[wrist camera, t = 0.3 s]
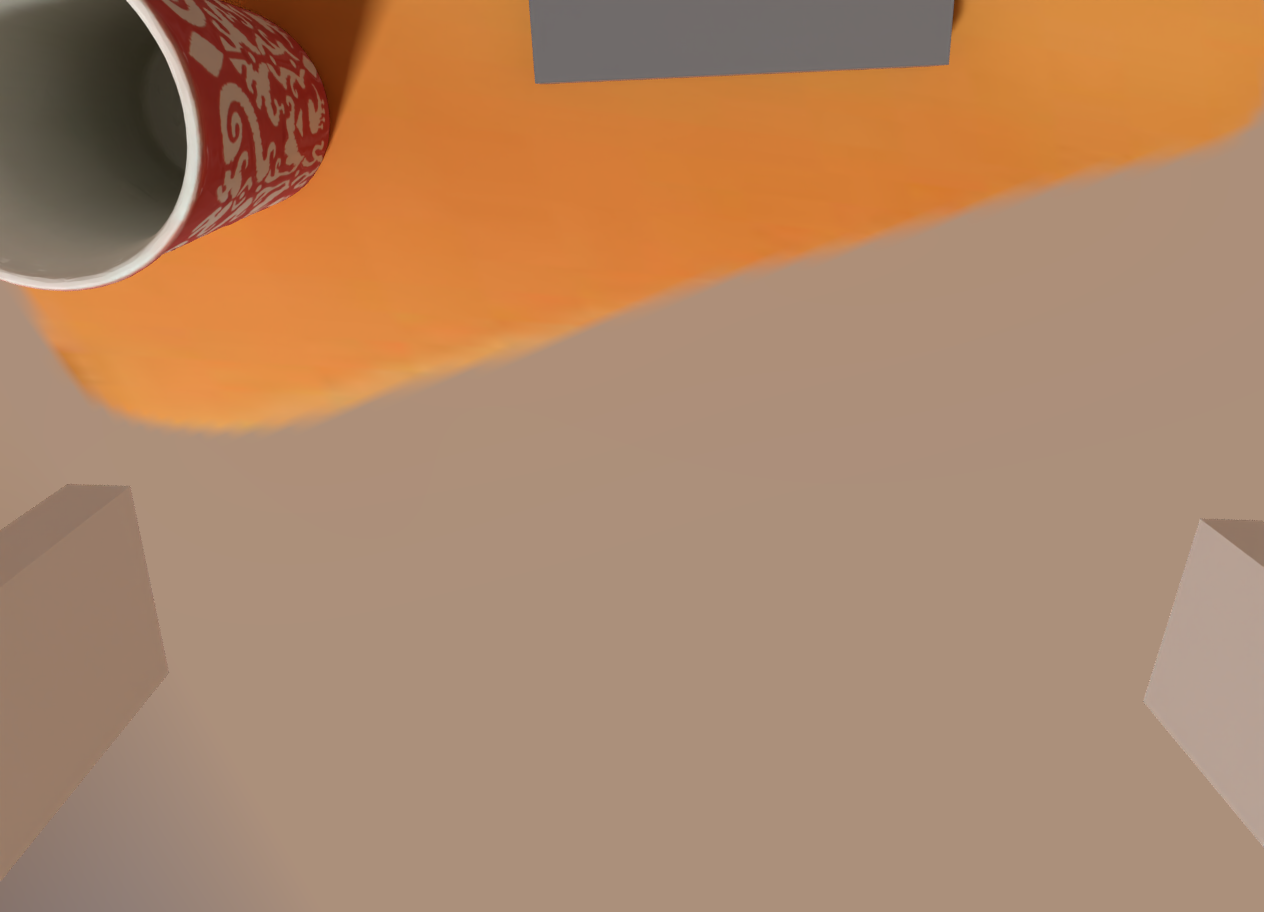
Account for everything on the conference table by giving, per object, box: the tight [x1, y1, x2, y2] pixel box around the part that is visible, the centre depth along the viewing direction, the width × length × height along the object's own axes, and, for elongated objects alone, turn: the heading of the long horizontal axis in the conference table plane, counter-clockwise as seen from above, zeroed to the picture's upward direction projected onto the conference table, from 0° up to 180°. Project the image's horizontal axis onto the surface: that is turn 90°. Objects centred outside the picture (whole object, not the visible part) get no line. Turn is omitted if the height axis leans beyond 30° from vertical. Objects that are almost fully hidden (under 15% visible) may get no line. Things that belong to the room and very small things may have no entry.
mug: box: [0, 0, 330, 291], centre depth 28 cm, size 13×9×14 cm
